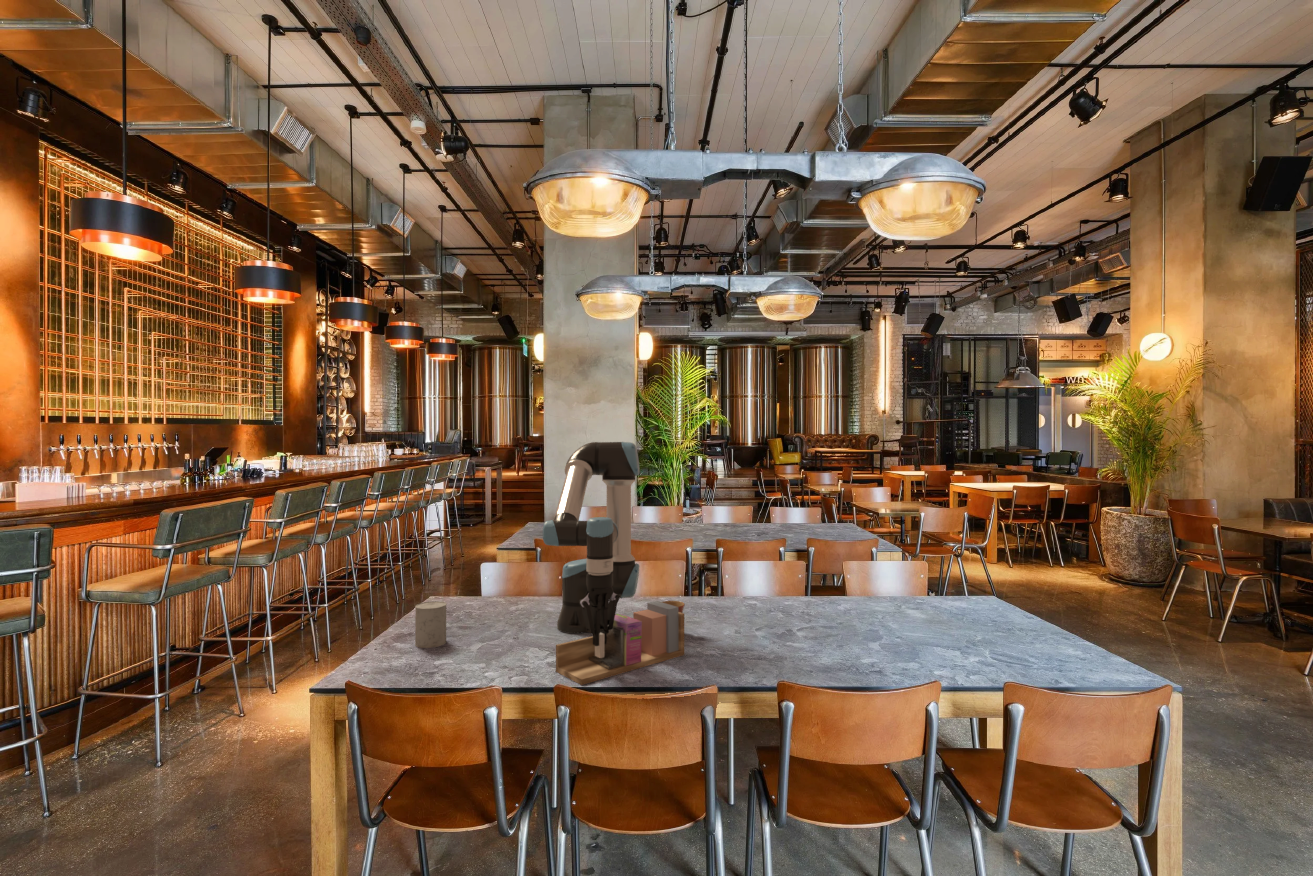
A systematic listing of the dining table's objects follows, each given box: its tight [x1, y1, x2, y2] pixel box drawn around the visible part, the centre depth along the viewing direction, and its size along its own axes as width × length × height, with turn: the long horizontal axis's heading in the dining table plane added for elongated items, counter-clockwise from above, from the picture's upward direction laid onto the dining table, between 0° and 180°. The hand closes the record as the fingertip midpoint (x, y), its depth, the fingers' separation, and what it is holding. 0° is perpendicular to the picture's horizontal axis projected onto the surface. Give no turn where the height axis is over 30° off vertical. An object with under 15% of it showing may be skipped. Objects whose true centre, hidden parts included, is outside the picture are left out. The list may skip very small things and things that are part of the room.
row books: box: [632, 600, 679, 656], centre depth 189 cm, size 10×10×13 cm
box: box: [613, 613, 642, 666], centre depth 181 cm, size 10×6×12 cm, turn 40°
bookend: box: [589, 626, 624, 670], centre depth 178 cm, size 10×5×10 cm, turn 40°
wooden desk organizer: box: [555, 612, 685, 686], centre depth 182 cm, size 13×37×12 cm, turn 130°
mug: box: [662, 600, 686, 613], centre depth 208 cm, size 12×9×10 cm
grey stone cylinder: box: [414, 600, 448, 649], centre depth 200 cm, size 10×10×12 cm
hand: (599, 656), depth 176 cm, fingers closed
